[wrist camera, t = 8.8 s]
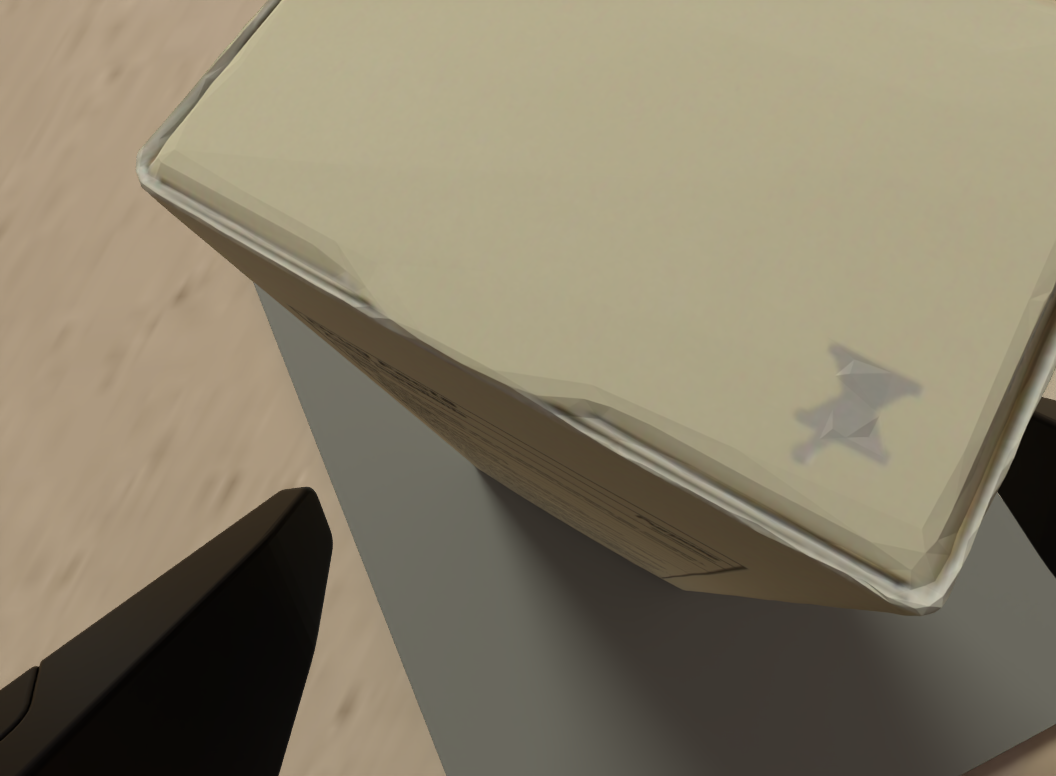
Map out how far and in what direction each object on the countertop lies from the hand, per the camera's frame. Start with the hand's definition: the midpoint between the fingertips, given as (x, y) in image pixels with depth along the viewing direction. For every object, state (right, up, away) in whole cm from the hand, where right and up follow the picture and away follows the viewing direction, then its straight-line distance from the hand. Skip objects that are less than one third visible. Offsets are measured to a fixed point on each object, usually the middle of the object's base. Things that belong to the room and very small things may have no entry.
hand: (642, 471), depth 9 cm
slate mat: (0, 0, +8) cm, 8 cm away
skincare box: (0, 0, +8) cm, 7 cm away
